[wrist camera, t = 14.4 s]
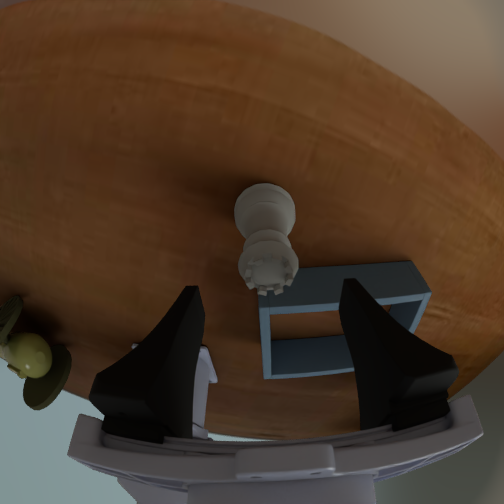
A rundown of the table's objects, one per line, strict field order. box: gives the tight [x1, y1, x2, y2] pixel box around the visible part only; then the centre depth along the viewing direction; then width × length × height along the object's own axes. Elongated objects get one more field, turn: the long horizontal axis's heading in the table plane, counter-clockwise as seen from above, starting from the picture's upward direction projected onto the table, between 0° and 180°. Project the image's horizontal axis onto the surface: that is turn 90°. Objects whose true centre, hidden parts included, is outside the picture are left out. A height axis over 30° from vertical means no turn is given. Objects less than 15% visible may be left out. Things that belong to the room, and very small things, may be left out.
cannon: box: [0, 295, 72, 410], centre depth 27 cm, size 25×12×11 cm, turn 110°
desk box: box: [258, 261, 432, 379], centre depth 25 cm, size 15×11×4 cm
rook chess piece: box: [234, 183, 298, 296], centre depth 18 cm, size 4×4×8 cm
